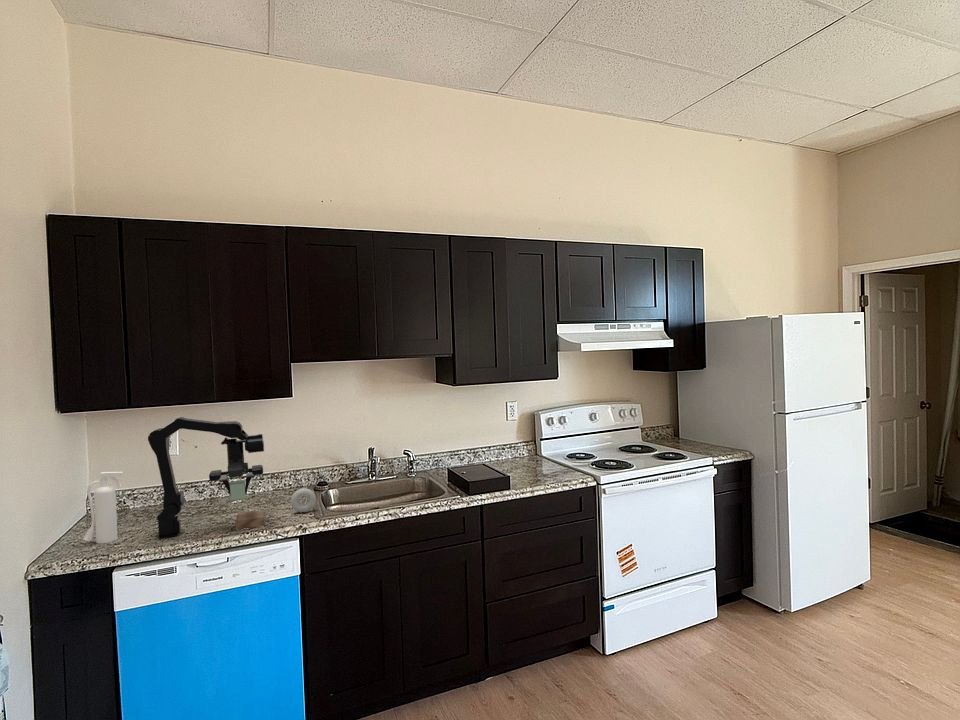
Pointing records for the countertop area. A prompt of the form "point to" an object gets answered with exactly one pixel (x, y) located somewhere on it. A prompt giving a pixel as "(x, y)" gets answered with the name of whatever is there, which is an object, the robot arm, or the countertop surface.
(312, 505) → the donut
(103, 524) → the fire extinguisher
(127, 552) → the countertop surface
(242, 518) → the walnut base
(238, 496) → the sage block
